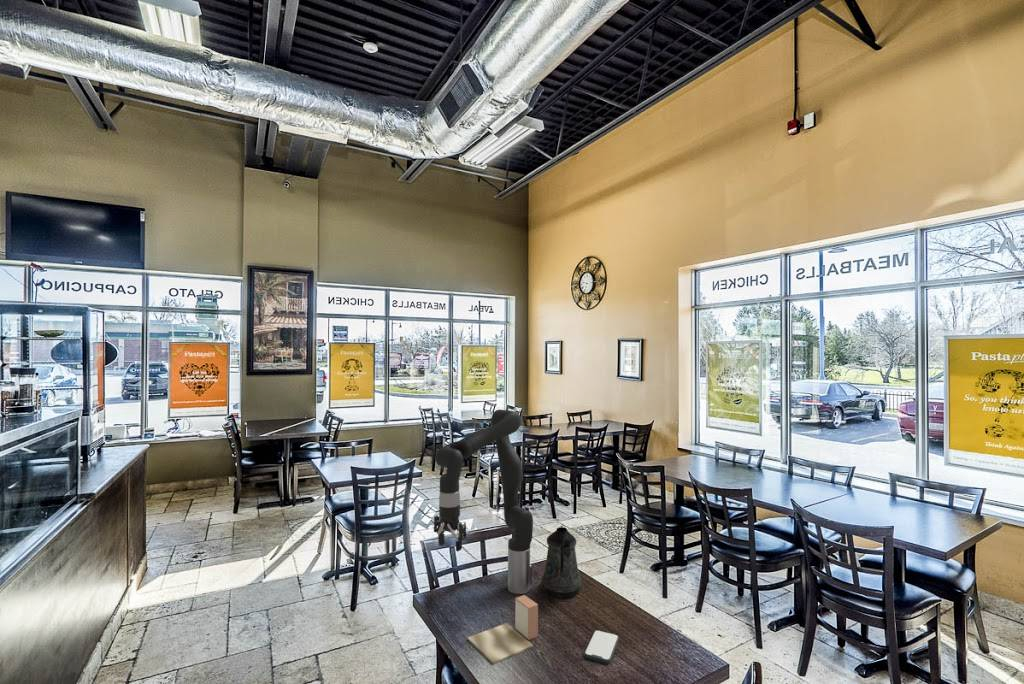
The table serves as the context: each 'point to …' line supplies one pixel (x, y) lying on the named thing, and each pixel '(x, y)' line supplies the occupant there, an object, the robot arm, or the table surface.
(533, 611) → the salmon pink block
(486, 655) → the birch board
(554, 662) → the table surface
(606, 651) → the phone case
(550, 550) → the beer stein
